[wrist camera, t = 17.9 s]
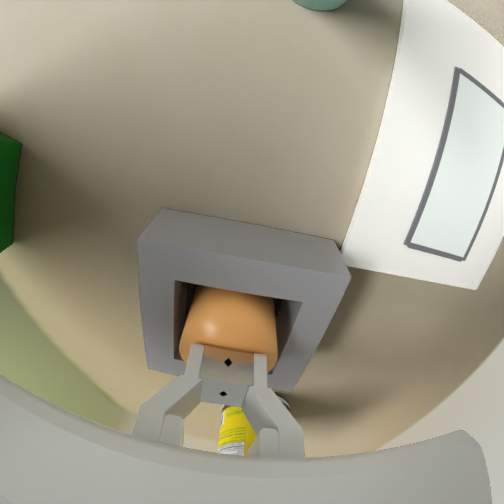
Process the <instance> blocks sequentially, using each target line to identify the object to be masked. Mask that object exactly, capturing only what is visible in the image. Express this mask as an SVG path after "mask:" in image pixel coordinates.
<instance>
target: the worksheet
mask: <svg viewBox="0 0 504 504" xmlns="http://www.w3.org/2000/svg"><path fill="white" fill-rule="evenodd" d="M503 236H504V47H503V46H502V45H501V44H500V43H499V42H498V41H497V40H496V39H495V38H494V37H493V36H491V35H490V34H489V33H488V32H487V31H486V30H485V29H483V28H482V27H481V26H480V25H479V24H477V23H476V22H475V21H474V20H472V19H471V18H470V17H469V16H467V15H466V14H465V13H463V12H462V11H461V10H459V9H458V8H456V7H455V6H454V5H452V4H451V3H449V2H448V1H446V0H404V1H403V10H402V18H401V26H400V33H399V39H398V46H397V52H396V57H395V63H394V68H393V73H392V78H391V83H390V87H389V92H388V97H387V101H386V105H385V109H384V113H383V117H382V121H381V125H380V129H379V133H378V137H377V140H376V144H375V148H374V151H373V155H372V158H371V161H370V165H369V168H368V171H367V175H366V178H365V181H364V184H363V187H362V191H361V194H360V197H359V200H358V203H357V206H356V209H355V212H354V214H353V217H352V220H351V223H350V226H349V229H348V231H347V234H346V237H345V239H344V242H343V245H342V247H341V250H340V253H341V256H342V258H343V260H344V262H345V264H346V266H350V267H355V268H360V269H366V270H371V271H376V272H382V273H387V274H392V275H398V276H403V277H408V278H414V279H419V280H424V281H430V282H435V283H440V284H445V285H451V286H456V287H461V288H466V289H472V290H476V289H477V288H478V286H479V284H480V282H481V281H482V279H483V277H484V275H485V273H486V271H487V270H488V268H489V266H490V264H491V262H492V260H493V258H494V256H495V254H496V252H497V249H498V247H499V245H500V243H501V241H502V238H503Z"/></svg>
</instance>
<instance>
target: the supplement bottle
mask: <svg viewBox="0 0 504 504" xmlns="http://www.w3.org/2000/svg"><path fill="white" fill-rule="evenodd" d="M277 397H278V398H279V399H280V401H281V402H282V403H283V405H284V406H285V407H286V408H287V410H288V411H289V412H290V414H291V410H290V406H289V404H288V403H287V402H286V401H285V400H284V399H283V398H281V397H279V396H277ZM256 437H257V436H256V434H255V432H254V431H253V429H252V427H251V425H250V424H249V422H248V420H247V418H246V416H245V415H244V413H243V411H242V409H241V407H235V406H228V405H223V408H222V415H221V424H220V433H219V443H218V453H223V454H232V455H242V456H247V455H248V449H249V447H250V446H251V444H252V443H253V441H254V440H255V438H256Z"/></svg>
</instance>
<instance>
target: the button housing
mask: <svg viewBox="0 0 504 504" xmlns="http://www.w3.org/2000/svg"><path fill="white" fill-rule="evenodd" d="M137 247H138V276H139V293H140V306H141V317H142V327H143V336H144V344H145V352H146V359H147V366H148V369H151V370H156V371H160V372H164V373H168V374H173V375H177V376H179V375H180V374H182V375H184V374H185V369H186V365H187V364H186V363H185V362H184V361H183V359H182V357H181V355H180V352H179V344H180V340H181V337H182V333H183V330H184V326H185V323H186V319H185V317H186V300H187V285H188V283H193V284H198V285H203V286H209V287H214V288H220V289H225V290H231V291H237V292H242V293H248V294H254V295H260V296H267V297H273V298H279V299H283V300H282V303H281V306H280V309H279V312H278V315H277V318H276V335H277V353H278V356H277V361H276V364H275V366H274V367H273V368H272V370H270V371H269V372H268V373H267V385H268V388H271V389H272V390H279V391H292V390H293V389H294V387H295V385H296V384H297V382H298V380H299V379H300V377H301V375H302V373H303V372H304V370H305V368H306V366H307V365H308V363H309V361H310V359H311V358H312V356H313V354H314V352H315V350H316V348H317V347H318V345H319V343H320V341H321V339H322V337H323V335H324V333H325V331H326V329H327V327H328V326H329V324H330V322H331V320H332V318H333V316H334V314H335V311H336V309H337V307H338V305H339V303H340V301H341V299H342V297H343V295H344V293H345V290H346V288H347V286H348V284H349V282H350V279H351V274H350V272H349V270H348V268H347V266H346V264H345V262H344V260H343V258H342V256H341V253H340V251H339V249H338V247H337V245H336V243H335V241H334V240H330V239H326V238H321V237H316V236H311V235H306V234H301V233H296V232H291V231H286V230H281V229H276V228H271V227H266V226H260V225H255V224H250V223H244V222H239V221H234V220H228V219H223V218H217V217H211V216H206V215H200V214H194V213H188V212H182V211H176V210H170V209H164V208H162V209H161V210H160V212H159V213H158V214H157V215H156V216H155V218H154V219H153V220H152V221H151V222H150V223H149V225H148V226H147V227H146V228H145V230H144V231H143V232H142V233H141V234H140V236H139V237H138V238H137Z"/></svg>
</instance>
